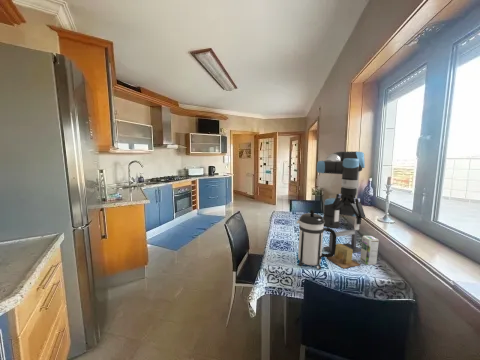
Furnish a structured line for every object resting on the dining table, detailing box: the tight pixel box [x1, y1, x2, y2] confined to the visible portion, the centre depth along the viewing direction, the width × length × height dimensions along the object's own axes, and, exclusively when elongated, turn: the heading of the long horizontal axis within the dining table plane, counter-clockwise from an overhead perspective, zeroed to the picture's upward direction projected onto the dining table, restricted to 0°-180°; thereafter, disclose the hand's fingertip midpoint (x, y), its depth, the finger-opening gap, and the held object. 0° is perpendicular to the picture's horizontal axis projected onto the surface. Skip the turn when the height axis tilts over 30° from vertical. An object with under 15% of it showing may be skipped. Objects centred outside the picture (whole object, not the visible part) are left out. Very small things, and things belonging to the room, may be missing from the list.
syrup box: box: [359, 235, 380, 266], centre depth 113 cm, size 6×6×14 cm
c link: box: [334, 243, 354, 265], centre depth 114 cm, size 4×8×8 cm, turn 19°
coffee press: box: [296, 209, 337, 270], centre depth 110 cm, size 17×16×30 cm
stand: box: [323, 229, 361, 256], centre depth 128 cm, size 20×10×12 cm, turn 109°
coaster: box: [326, 255, 361, 270], centre depth 114 cm, size 12×12×1 cm
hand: (345, 225), depth 112 cm, fingers open, 13 cm apart
